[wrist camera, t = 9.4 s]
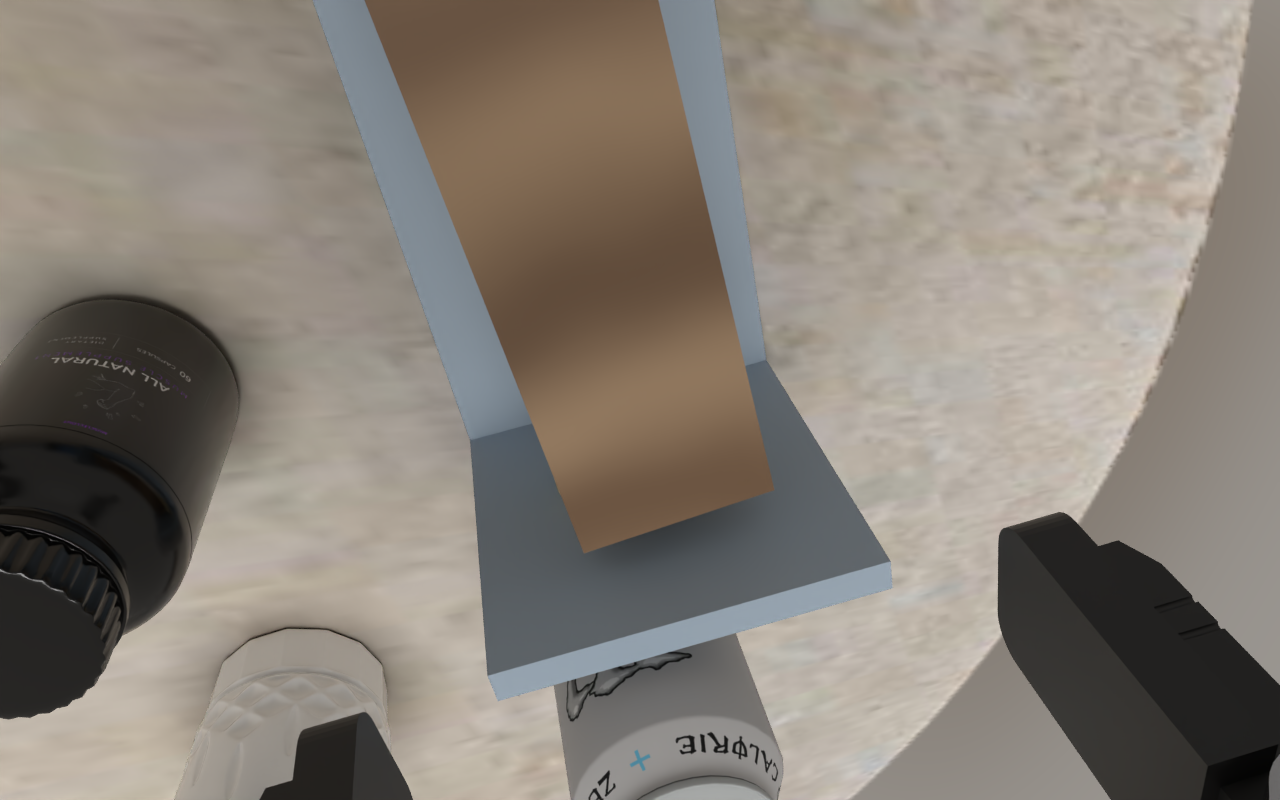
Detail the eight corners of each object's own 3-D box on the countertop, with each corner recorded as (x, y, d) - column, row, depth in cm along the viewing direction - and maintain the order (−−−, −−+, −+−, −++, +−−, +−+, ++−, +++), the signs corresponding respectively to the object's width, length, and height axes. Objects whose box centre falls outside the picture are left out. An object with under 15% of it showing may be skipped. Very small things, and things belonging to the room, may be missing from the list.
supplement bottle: (189, 267, 31) (74, 493, 21) (273, 441, 34) (210, 706, 24) (-32, 322, 30) (-260, 580, 20) (77, 492, 34) (-69, 783, 24)
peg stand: (258, -166, 25) (147, -145, 15) (669, -262, 26) (827, -304, 16) (477, 450, 36) (498, 700, 26) (763, 372, 37) (892, 588, 27)
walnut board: (369, -40, 22) (359, -12, 19) (602, -114, 22) (634, -100, 19) (566, 469, 30) (584, 553, 27) (735, 413, 30) (774, 490, 27)
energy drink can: (623, 411, 36) (729, 732, 24) (707, 507, 39) (841, 836, 27) (496, 499, 37) (533, 853, 25) (588, 586, 40) (662, 940, 28)
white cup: (412, 736, 43) (409, 962, 35) (224, 764, 42) (174, 1006, 33) (387, 602, 39) (377, 821, 31) (177, 629, 38) (107, 866, 29)
